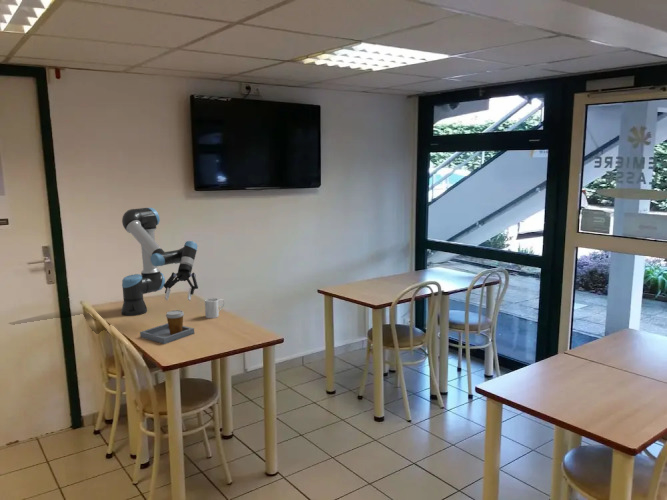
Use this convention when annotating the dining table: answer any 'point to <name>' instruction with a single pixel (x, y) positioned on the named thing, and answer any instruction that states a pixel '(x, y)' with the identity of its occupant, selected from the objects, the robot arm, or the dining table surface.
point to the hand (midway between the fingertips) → (177, 299)
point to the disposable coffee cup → (175, 321)
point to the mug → (212, 307)
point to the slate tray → (165, 334)
